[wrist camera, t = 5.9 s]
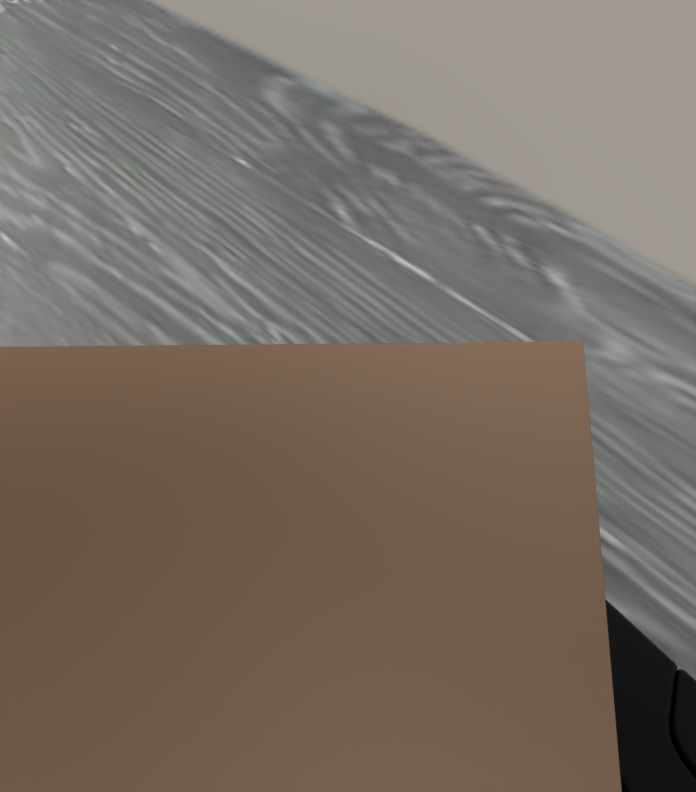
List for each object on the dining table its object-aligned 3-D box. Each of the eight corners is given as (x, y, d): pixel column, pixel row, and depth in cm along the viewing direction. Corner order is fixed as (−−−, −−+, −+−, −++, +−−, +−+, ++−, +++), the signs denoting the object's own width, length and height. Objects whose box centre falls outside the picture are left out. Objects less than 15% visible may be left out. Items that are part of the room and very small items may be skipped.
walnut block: (437, 645, 13) (699, 1712, 2) (268, 634, 14) (-443, 1357, 2) (435, 469, 14) (582, 340, 3) (278, 466, 15) (-161, 347, 3)
